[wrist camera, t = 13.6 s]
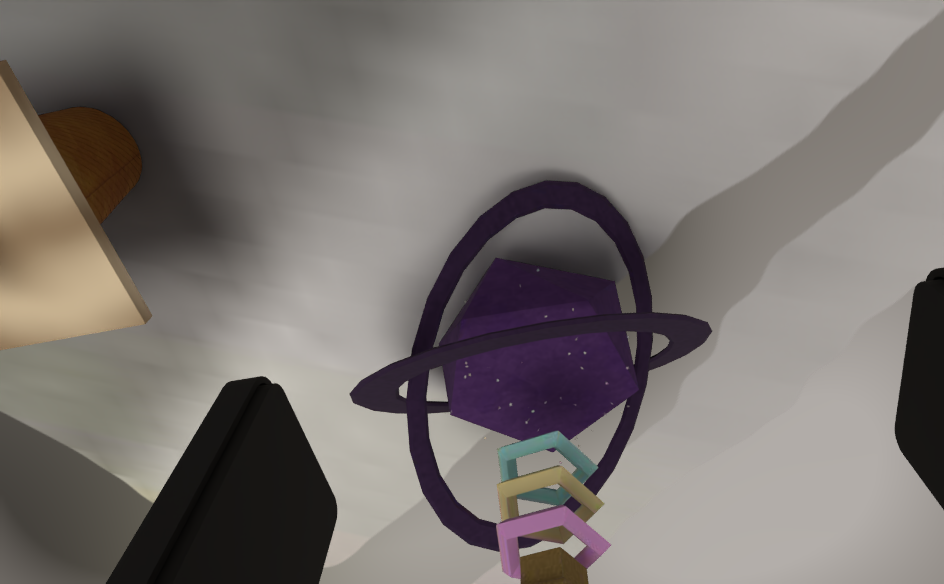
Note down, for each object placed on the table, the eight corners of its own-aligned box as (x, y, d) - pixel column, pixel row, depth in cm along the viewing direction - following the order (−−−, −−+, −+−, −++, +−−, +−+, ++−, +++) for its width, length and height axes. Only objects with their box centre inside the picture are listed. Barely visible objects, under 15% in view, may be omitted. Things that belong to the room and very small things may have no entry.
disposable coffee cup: (18, 182, 45) (-128, 263, 34) (30, 55, 40) (-134, 103, 30) (152, 237, 46) (51, 329, 36) (178, 120, 42) (72, 188, 32)
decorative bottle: (458, 442, 56) (427, 774, 34) (335, 244, 46) (186, 532, 25) (714, 363, 50) (871, 702, 29) (634, 120, 41) (778, 353, 19)
